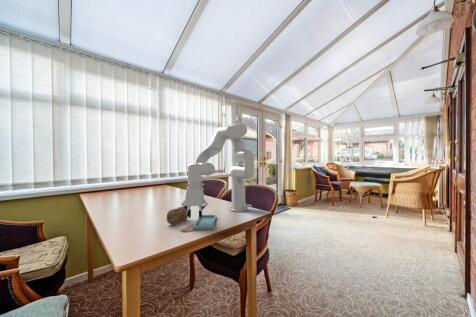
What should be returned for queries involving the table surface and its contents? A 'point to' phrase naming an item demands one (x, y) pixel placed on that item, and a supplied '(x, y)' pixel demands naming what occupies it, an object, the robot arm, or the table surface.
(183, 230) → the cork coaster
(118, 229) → the table surface
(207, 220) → the tray
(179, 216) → the tin
